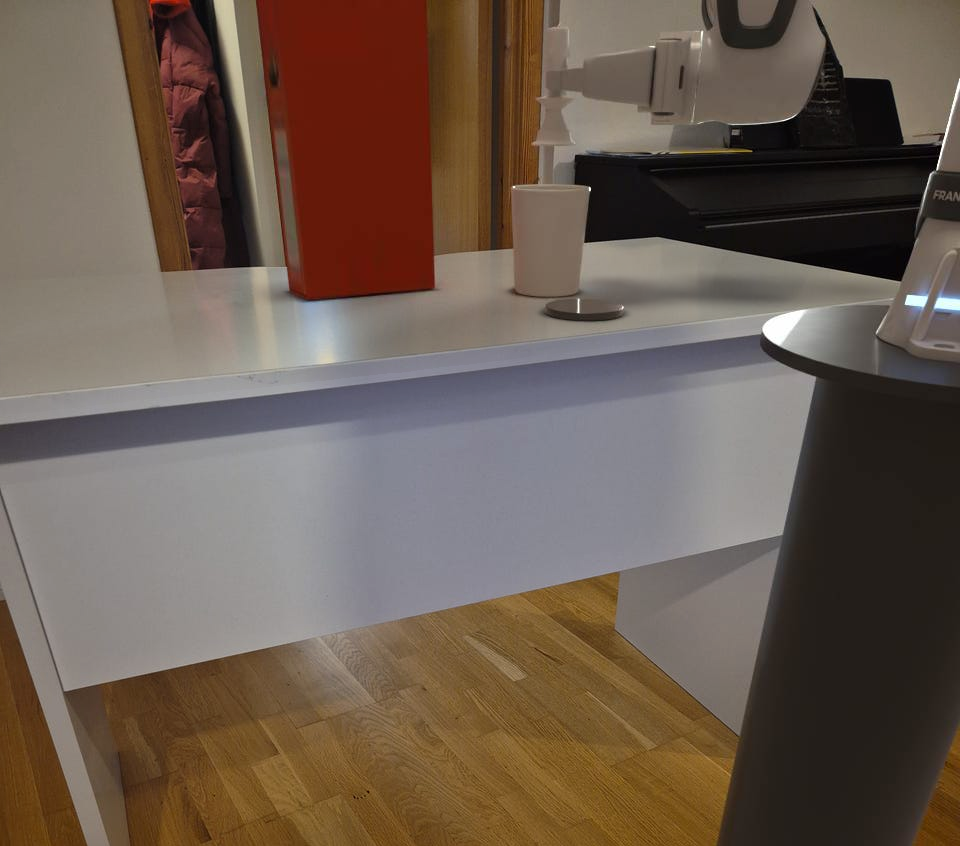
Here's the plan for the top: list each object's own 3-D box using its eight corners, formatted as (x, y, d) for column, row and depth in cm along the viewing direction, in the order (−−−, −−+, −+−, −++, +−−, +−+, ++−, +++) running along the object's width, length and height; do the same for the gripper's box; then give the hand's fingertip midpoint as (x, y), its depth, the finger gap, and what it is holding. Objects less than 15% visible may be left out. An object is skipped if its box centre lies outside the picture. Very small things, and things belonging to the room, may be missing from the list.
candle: (564, 144, 103) (569, 24, 97) (583, 145, 99) (590, 20, 92) (524, 145, 101) (526, 23, 95) (541, 146, 97) (545, 18, 91)
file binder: (288, 291, 109) (253, -21, 92) (409, 280, 116) (397, -11, 99) (308, 301, 103) (275, -30, 86) (435, 289, 110) (427, -19, 93)
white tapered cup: (513, 283, 114) (515, 183, 107) (586, 286, 112) (592, 184, 106) (503, 297, 105) (505, 189, 99) (581, 299, 104) (588, 190, 98)
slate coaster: (637, 312, 97) (638, 305, 97) (592, 324, 92) (592, 316, 91) (576, 302, 102) (576, 295, 102) (529, 313, 97) (529, 305, 96)
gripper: (672, 51, 102) (558, 53, 104) (674, 38, 85) (538, 41, 87) (666, 112, 105) (556, 113, 107) (667, 111, 88) (537, 112, 90)
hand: (548, 81), depth 97 cm, fingers closed on candle, 2 cm apart
